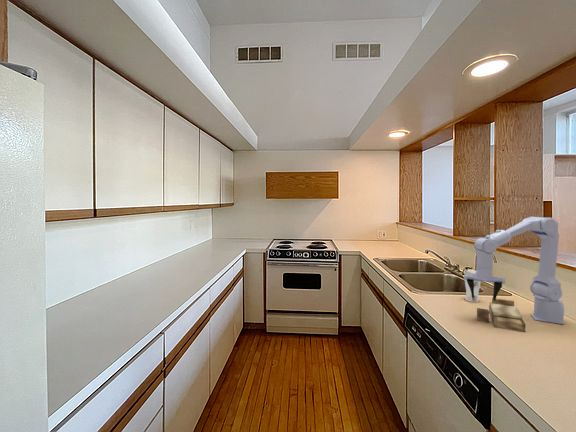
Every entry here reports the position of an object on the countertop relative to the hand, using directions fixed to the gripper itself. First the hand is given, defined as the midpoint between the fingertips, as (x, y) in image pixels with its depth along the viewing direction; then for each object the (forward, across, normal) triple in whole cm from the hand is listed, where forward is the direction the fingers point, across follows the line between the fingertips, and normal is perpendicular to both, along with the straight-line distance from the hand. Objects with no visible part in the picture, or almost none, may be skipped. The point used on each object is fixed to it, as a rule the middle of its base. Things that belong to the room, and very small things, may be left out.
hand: (483, 298), depth 130 cm
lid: (+6, +9, +6) cm, 12 cm away
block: (+10, 0, 0) cm, 10 cm away
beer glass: (+10, -2, +28) cm, 30 cm away
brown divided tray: (+9, +8, +4) cm, 13 cm away
